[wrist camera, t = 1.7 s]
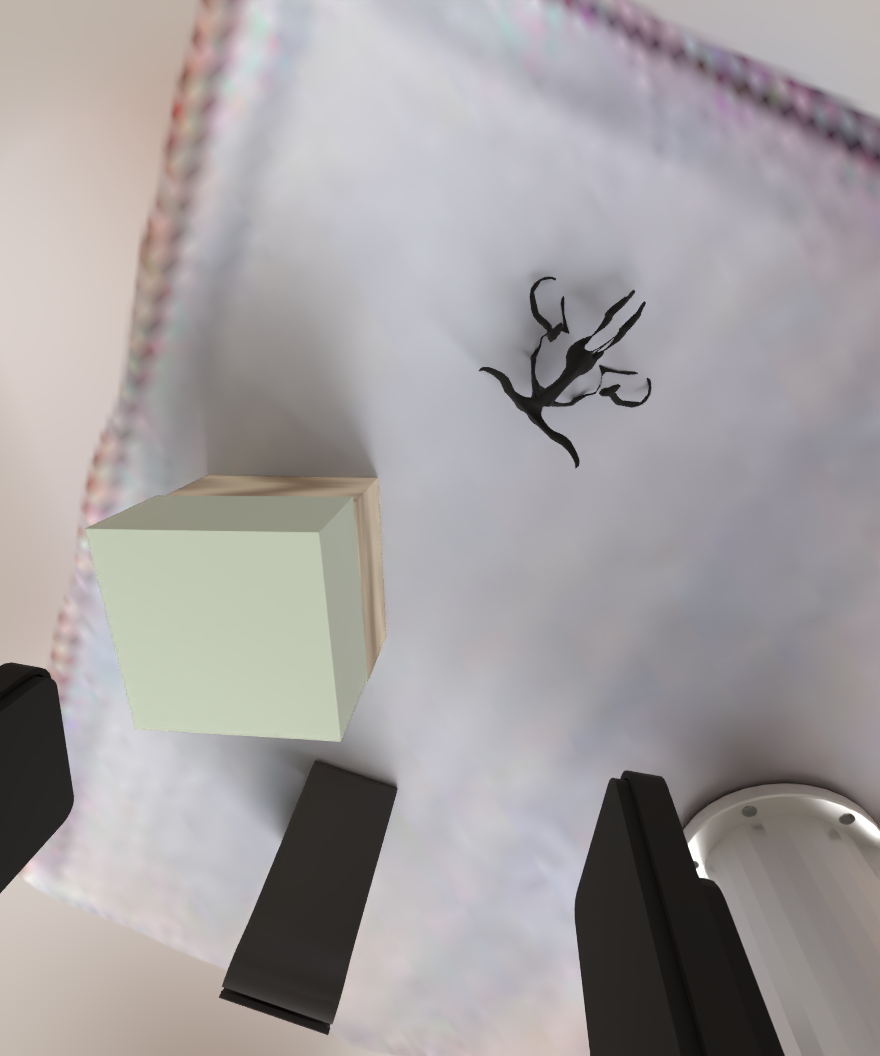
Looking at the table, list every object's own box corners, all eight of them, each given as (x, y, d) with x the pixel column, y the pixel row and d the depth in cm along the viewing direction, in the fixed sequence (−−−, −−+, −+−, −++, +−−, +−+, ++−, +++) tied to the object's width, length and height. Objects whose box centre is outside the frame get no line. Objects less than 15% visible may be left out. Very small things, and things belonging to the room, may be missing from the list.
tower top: (352, 496, 26) (319, 532, 22) (367, 677, 30) (341, 741, 25) (156, 495, 28) (84, 528, 23) (191, 668, 31) (134, 729, 26)
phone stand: (316, 757, 38) (234, 936, 27) (399, 786, 38) (352, 977, 27) (289, 847, 41) (206, 1040, 30) (365, 874, 41) (311, 1077, 30)
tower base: (378, 476, 31) (355, 502, 26) (387, 633, 34) (367, 681, 30) (210, 474, 32) (159, 498, 28) (233, 626, 36) (192, 671, 31)
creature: (571, 244, 27) (457, 366, 28) (608, 199, 22) (466, 351, 23) (677, 361, 28) (565, 474, 29) (737, 345, 23) (597, 484, 24)
